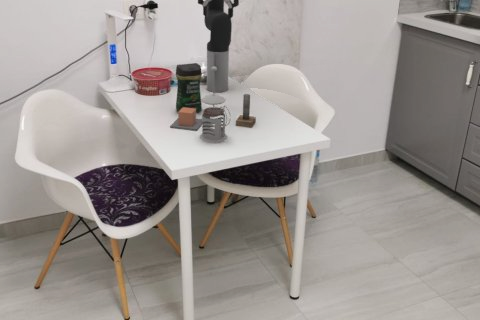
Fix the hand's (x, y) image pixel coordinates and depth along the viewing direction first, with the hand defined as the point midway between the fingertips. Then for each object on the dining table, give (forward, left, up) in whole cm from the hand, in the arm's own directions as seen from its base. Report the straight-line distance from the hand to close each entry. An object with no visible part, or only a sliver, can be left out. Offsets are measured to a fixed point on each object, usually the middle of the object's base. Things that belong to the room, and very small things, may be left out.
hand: (218, 17), depth 189 cm
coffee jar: (+1, -11, -36) cm, 38 cm away
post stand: (+7, +13, -36) cm, 39 cm away
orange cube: (+15, -7, -36) cm, 39 cm away
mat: (+14, -7, -36) cm, 39 cm away
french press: (+23, +6, -36) cm, 43 cm away
